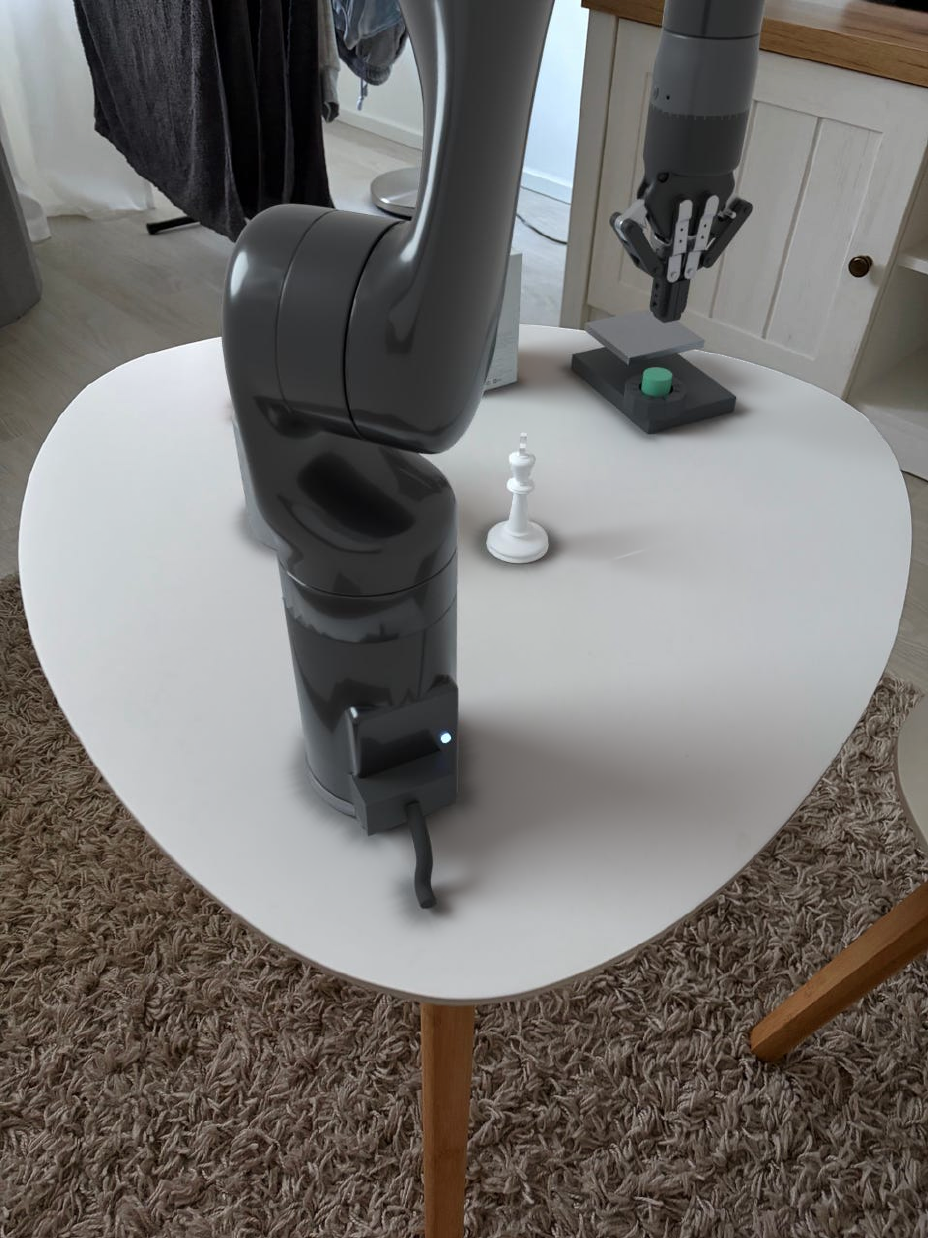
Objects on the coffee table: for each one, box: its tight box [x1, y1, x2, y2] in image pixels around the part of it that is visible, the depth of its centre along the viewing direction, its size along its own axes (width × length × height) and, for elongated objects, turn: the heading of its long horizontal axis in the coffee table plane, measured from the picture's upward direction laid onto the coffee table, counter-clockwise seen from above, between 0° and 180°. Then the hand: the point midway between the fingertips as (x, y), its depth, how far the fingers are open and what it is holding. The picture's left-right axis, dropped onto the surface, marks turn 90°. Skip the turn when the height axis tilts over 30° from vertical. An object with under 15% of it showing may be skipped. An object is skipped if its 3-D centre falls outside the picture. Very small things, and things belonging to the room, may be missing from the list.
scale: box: [570, 346, 738, 435], centre depth 95 cm, size 15×11×4 cm
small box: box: [484, 246, 523, 392], centre depth 95 cm, size 8×6×13 cm
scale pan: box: [583, 308, 706, 365], centre depth 96 cm, size 8×9×1 cm
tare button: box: [641, 367, 672, 396], centre depth 90 cm, size 3×3×2 cm
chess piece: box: [486, 432, 550, 564], centre depth 75 cm, size 5×5×10 cm
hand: (666, 318), depth 85 cm, fingers closed
